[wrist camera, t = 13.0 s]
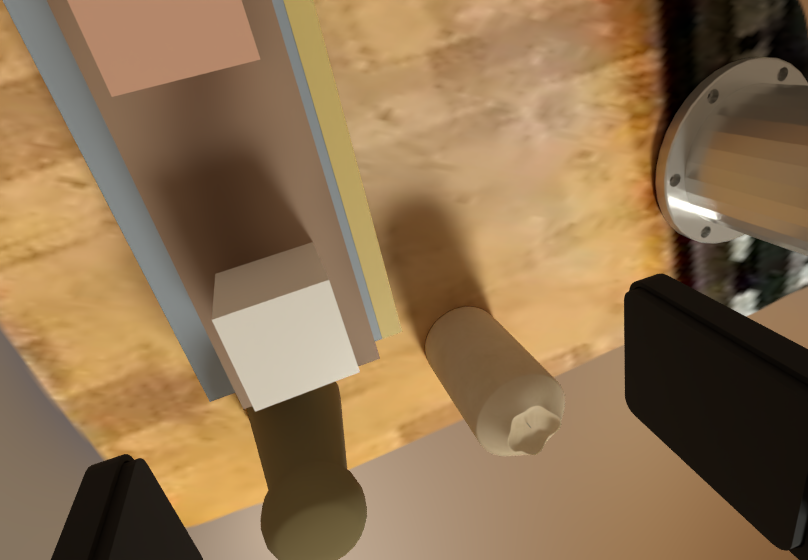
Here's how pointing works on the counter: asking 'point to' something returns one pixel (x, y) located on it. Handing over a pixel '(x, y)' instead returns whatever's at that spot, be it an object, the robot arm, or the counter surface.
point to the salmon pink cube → (163, 39)
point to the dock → (132, 215)
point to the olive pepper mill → (307, 478)
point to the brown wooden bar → (229, 172)
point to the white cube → (282, 326)
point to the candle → (494, 382)
